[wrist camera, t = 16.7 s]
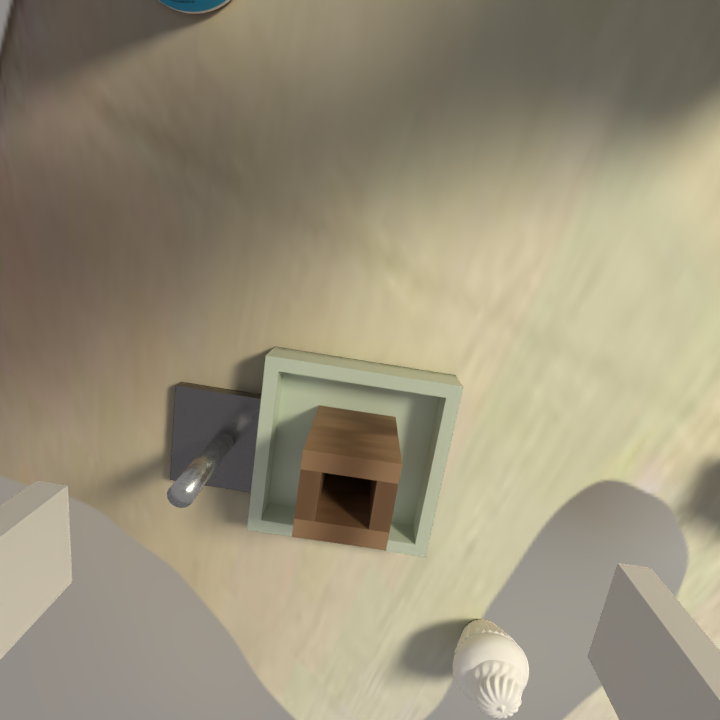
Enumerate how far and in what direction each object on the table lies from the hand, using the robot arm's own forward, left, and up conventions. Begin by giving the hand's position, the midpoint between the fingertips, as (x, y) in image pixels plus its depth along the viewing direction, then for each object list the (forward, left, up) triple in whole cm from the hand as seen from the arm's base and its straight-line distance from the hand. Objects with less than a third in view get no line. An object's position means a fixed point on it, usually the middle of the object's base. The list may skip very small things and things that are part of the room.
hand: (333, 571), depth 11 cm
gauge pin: (+10, +8, -24) cm, 27 cm away
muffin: (-14, +24, -24) cm, 37 cm away
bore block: (0, +7, -23) cm, 24 cm away
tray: (0, +7, -24) cm, 25 cm away
